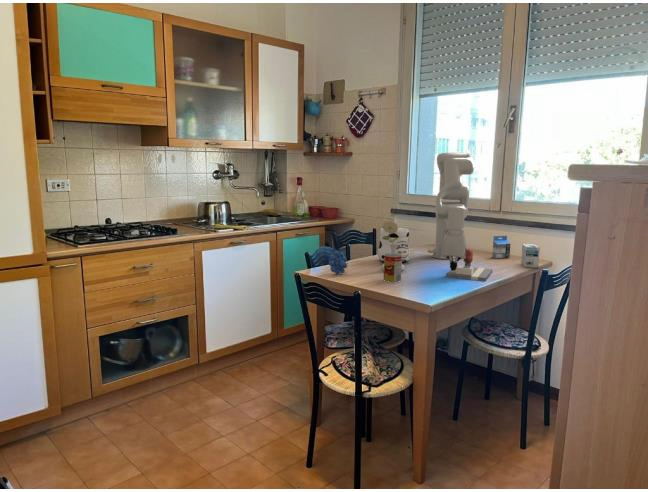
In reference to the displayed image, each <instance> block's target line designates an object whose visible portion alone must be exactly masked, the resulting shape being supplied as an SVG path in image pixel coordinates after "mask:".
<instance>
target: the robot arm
mask: <svg viewBox="0 0 648 492" xmlns="http://www.w3.org/2000/svg"><path fill="white" fill-rule="evenodd" d="M436 165H437V168H438V170H439V189H438V190H439V191H438V193H437V196H436V197H435V198H436V199H435V220H436V221H435V222H436V223H435V227H436V229H435V245H434V246H435V247H434V248H433V249H432V248H428V249H427V252H428V253H431V254H432V255H431V257H432V258H434V259H439V260H448V261H449V269H450V270H451V271H452V270H453V271H455V270H456V267H457V266H458V262H459V261H460V260H464V259H465V258H466V256H465V253H466V248H467V247H466V245H467V244H466V237H465V236H466V235H465V233H464V231H465V230H464V229H465V219H466V218H467V217H468V213H469V202H470V201H469V200H470V186H469V184H468V183H466V182H463V175H465V176H466V175H467V176H468V175H472V174H473V173H474V171H475V162H474V159H473V156H472V154H471V153H468V152H441V153H439V154H437V156H436ZM443 200H444V201H443ZM446 200H448V201H446ZM451 200H453V201H451Z"/></svg>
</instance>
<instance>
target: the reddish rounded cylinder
mask: <svg viewBox="0 0 648 492" xmlns="http://www.w3.org/2000/svg"><path fill="white" fill-rule="evenodd" d="M473 254H474V250H473V249H471V248H470V249H469V248H467V249H466V253H465V256H466V258H465V259H463V262H464V266H469V267H472V263H473V257H474V256H473Z"/></svg>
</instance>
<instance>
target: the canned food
mask: <svg viewBox="0 0 648 492" xmlns="http://www.w3.org/2000/svg"><path fill="white" fill-rule="evenodd" d="M383 264H384V269H383V281H384V280H385V281H389V282H398V283H400V282H399V281H401V282H402V271H401V265H402V264H403V263H402V255H401V254H396V253H388V254H384V262H383ZM385 281H384V282H385ZM389 282H388V283H389Z"/></svg>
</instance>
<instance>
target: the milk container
mask: <svg viewBox="0 0 648 492" xmlns="http://www.w3.org/2000/svg"><path fill="white" fill-rule="evenodd" d="M397 230H398V231H397V232H395V233H392V234H391V233H390V234H389V233H388V232H385V231H384V229H383V227H381V228H380V231H379V246H378V249H377V257H378V260H379V261H380V262H383V263H384V254H388V253H391V247H390V245H389V243H392V242H393V243H399V245H398V246H397V249H396V254H401V255H402V264H403V263H407V262H408V261H409V260H410V257H411V250H410V230H409V228H406V227H399V226H398V229H397ZM384 236H387V237H389V236H390V238H389V240H384V239H382V238H383V237H384ZM398 237H399V238H398ZM395 238H398V239H397V240H394V241H392V242H391V240H393V239H395ZM390 239H391V240H390Z"/></svg>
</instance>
